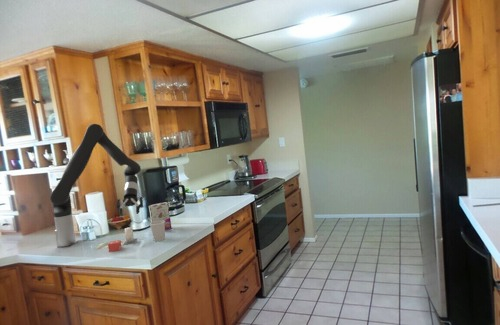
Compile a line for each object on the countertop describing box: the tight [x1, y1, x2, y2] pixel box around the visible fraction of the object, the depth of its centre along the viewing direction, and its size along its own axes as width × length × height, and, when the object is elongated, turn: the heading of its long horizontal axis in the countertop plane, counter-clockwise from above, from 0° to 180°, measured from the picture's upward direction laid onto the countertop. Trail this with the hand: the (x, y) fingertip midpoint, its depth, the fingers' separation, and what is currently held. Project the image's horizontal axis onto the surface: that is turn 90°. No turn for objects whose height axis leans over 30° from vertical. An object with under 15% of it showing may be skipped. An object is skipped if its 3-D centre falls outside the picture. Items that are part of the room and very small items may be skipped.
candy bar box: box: [148, 201, 172, 231], centre depth 207 cm, size 11×5×16 cm, turn 117°
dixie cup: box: [149, 220, 166, 242], centre depth 187 cm, size 8×8×10 cm
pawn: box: [124, 226, 135, 243], centre depth 185 cm, size 4×4×8 cm
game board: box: [94, 237, 139, 251], centre depth 184 cm, size 21×12×1 cm, turn 99°
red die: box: [108, 239, 122, 252], centre depth 174 cm, size 5×5×5 cm
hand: (129, 214), depth 191 cm, fingers open, 8 cm apart
